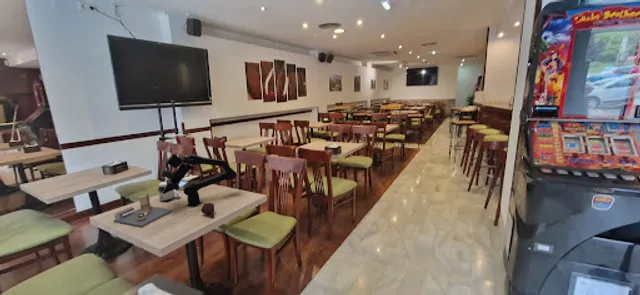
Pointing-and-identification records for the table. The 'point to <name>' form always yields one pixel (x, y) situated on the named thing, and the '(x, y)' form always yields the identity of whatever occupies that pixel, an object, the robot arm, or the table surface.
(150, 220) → the base board
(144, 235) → the table surface
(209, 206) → the icecream
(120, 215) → the keeper
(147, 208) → the link
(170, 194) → the spread jar
